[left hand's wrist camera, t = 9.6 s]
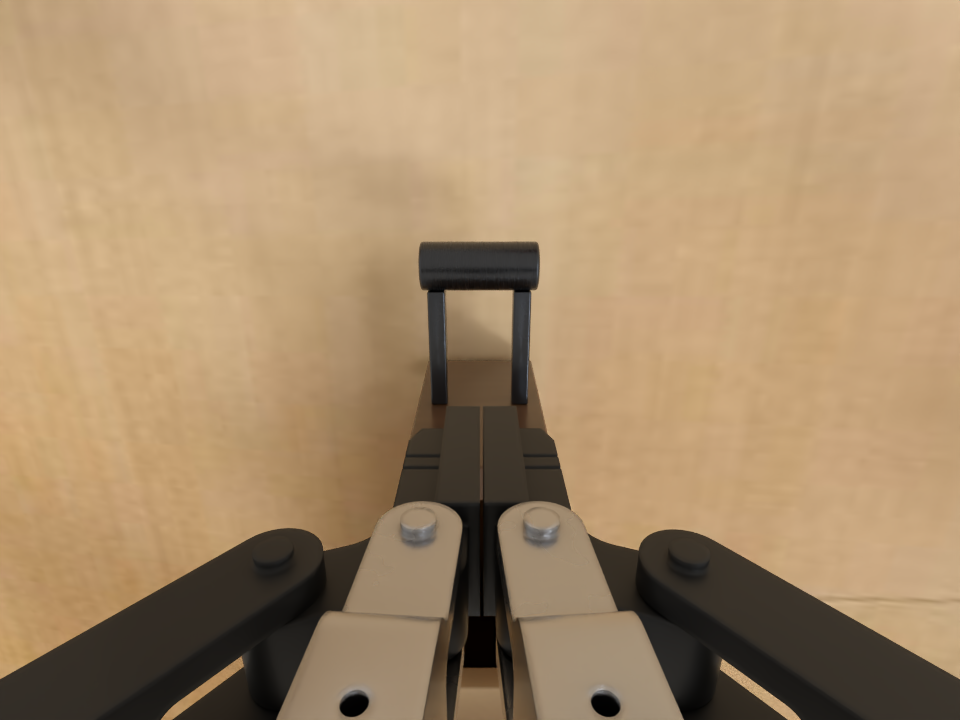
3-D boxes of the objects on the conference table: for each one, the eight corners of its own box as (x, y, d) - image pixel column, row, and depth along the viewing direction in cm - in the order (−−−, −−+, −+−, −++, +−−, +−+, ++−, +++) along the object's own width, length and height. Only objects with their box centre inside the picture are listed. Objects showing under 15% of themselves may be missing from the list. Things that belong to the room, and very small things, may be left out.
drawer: (423, 224, 23) (391, 271, 14) (535, 224, 23) (566, 270, 14) (440, 669, 31) (425, 854, 23) (520, 669, 31) (534, 854, 23)
